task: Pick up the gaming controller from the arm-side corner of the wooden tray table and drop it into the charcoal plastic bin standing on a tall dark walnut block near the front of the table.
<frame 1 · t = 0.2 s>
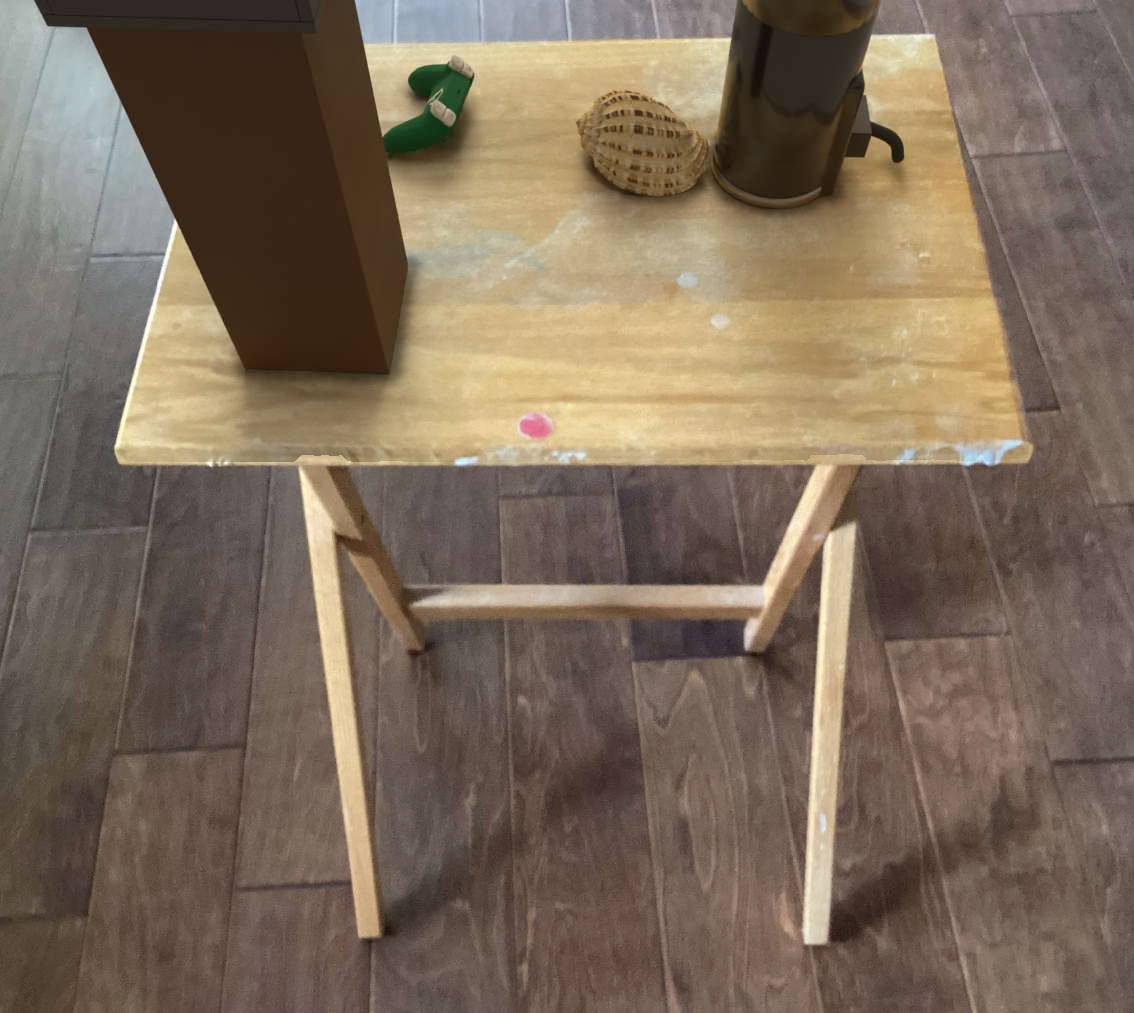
gaming controller: (433, 126, 79), on the table
seashell: (642, 165, 77), on the table
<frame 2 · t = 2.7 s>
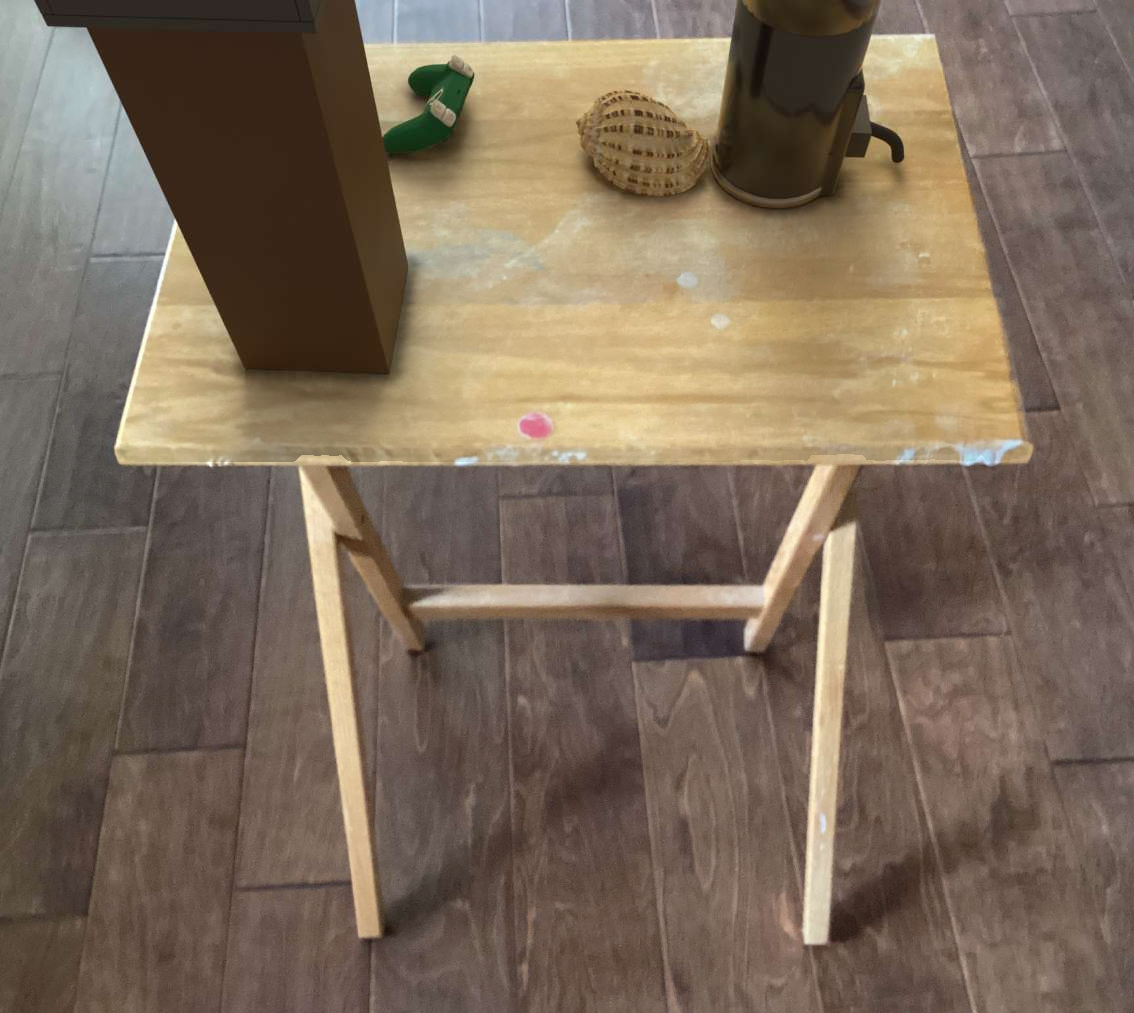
nothing on the table moved.
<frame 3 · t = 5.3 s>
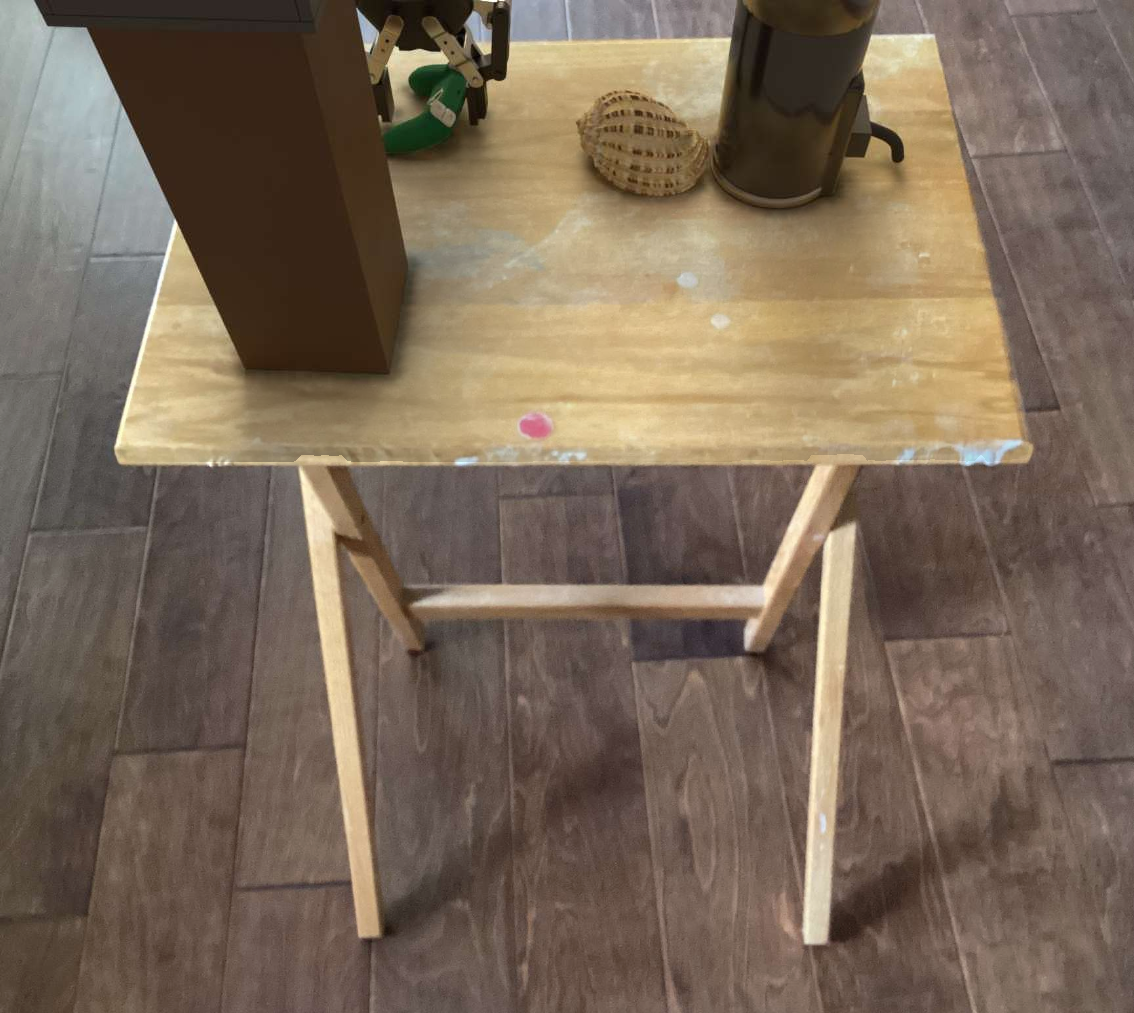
hand: (432, 117, 79), 1 cm above the table, tool pointing down, fingers closed on gaming controller, 6 cm apart
gaming controller: (433, 126, 79), on the table, touching gripper
everything else where it was.
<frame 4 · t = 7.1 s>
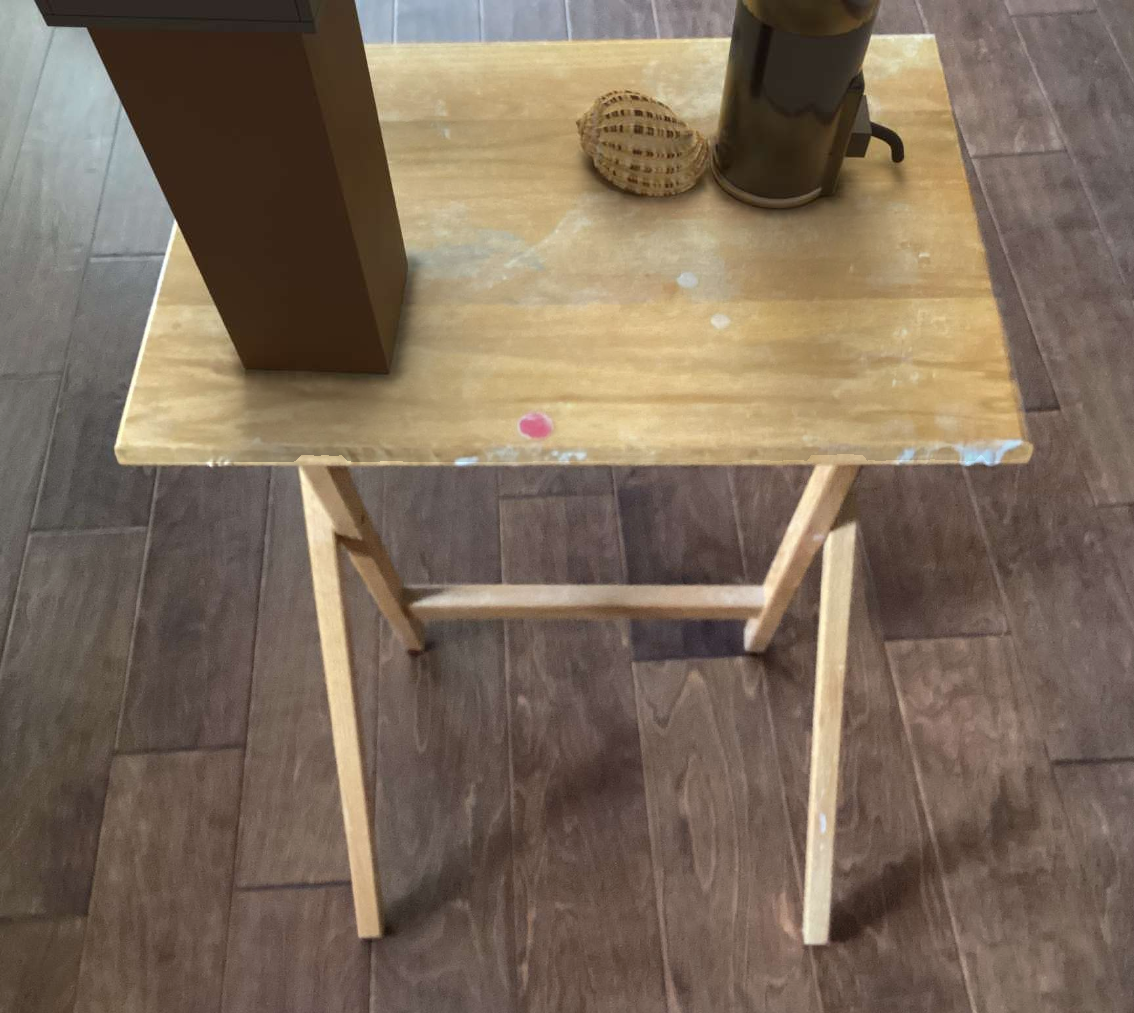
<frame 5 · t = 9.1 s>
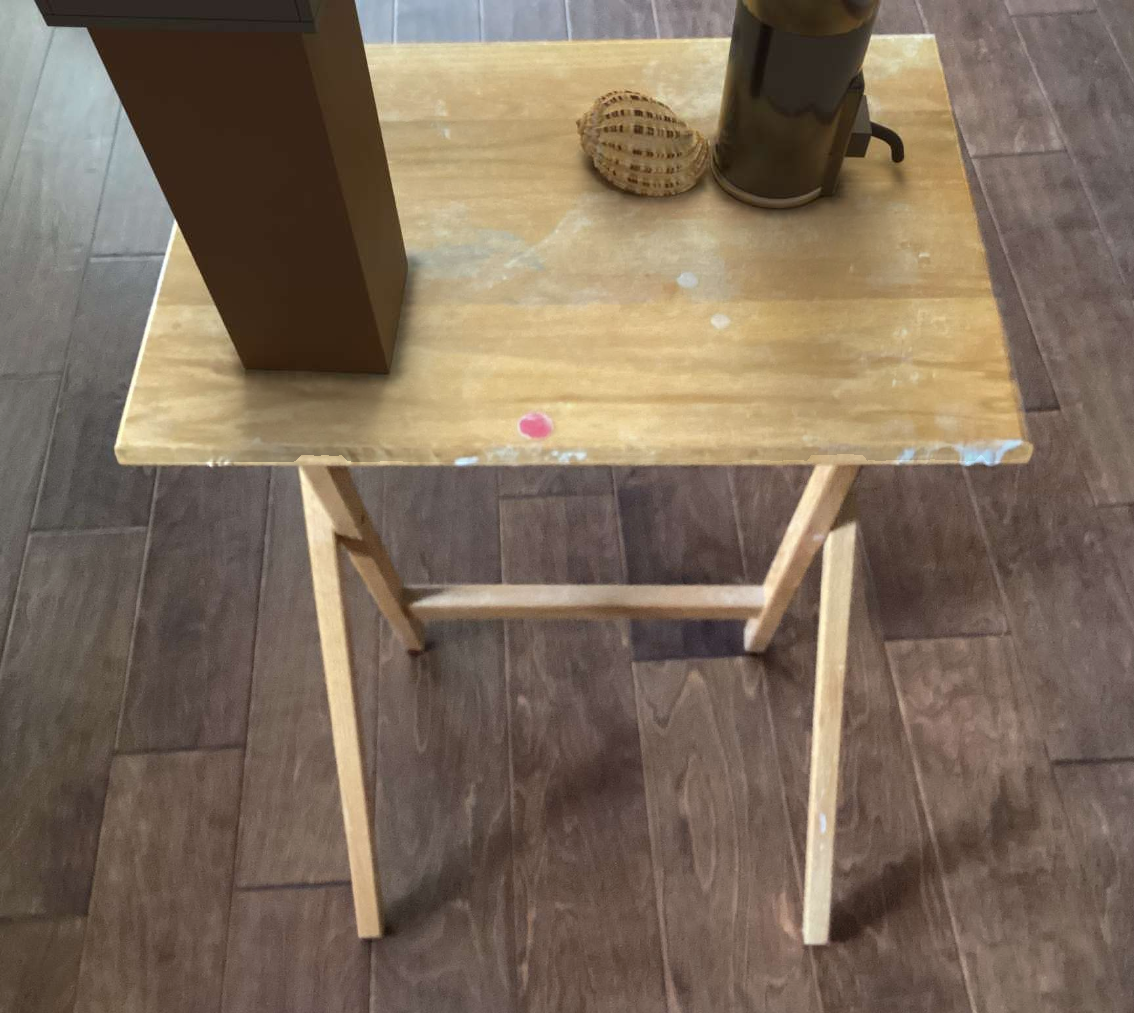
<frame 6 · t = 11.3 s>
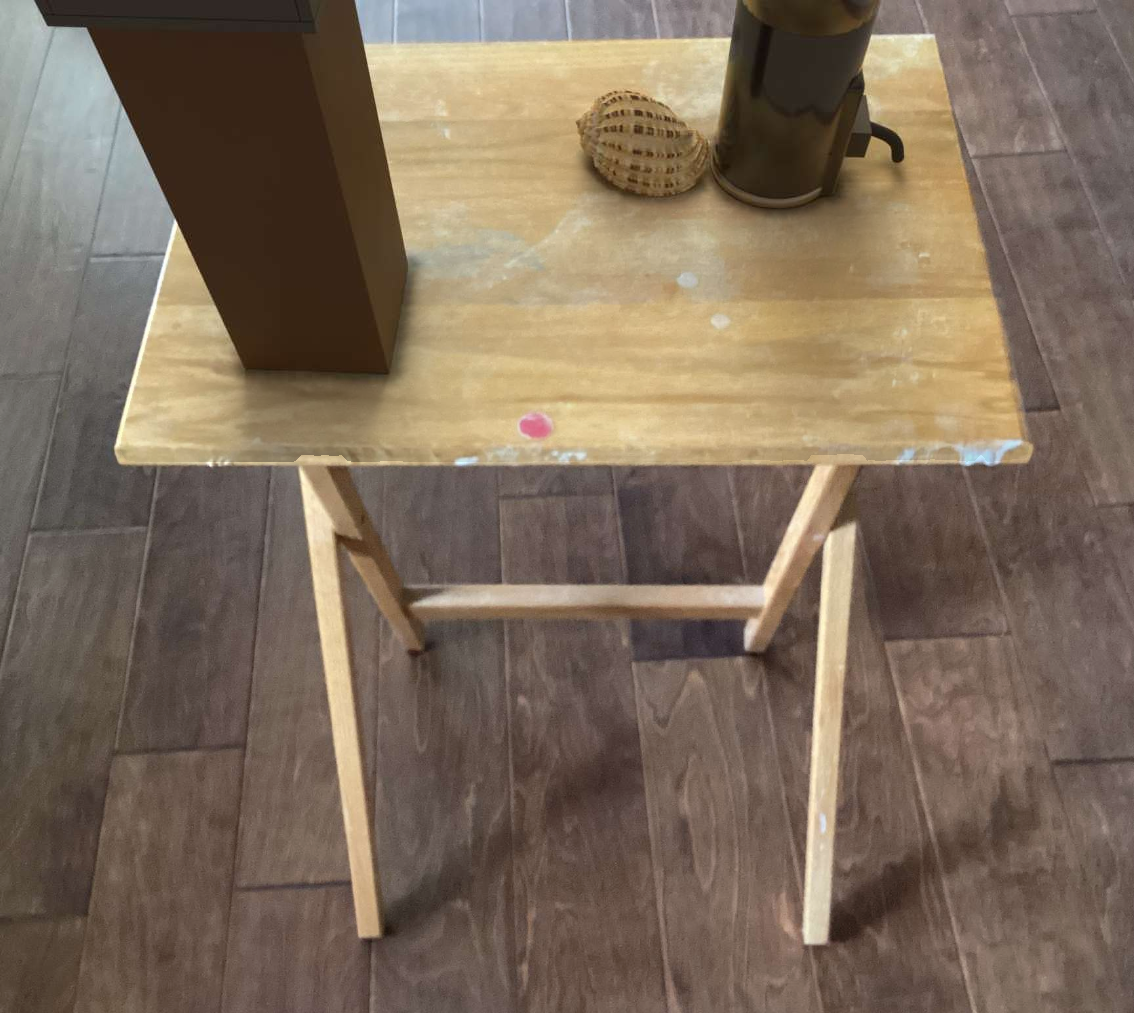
when the fingers open (31 cm above the table, at t = 13.2 s): gaming controller drops 3 cm, resting on bin.
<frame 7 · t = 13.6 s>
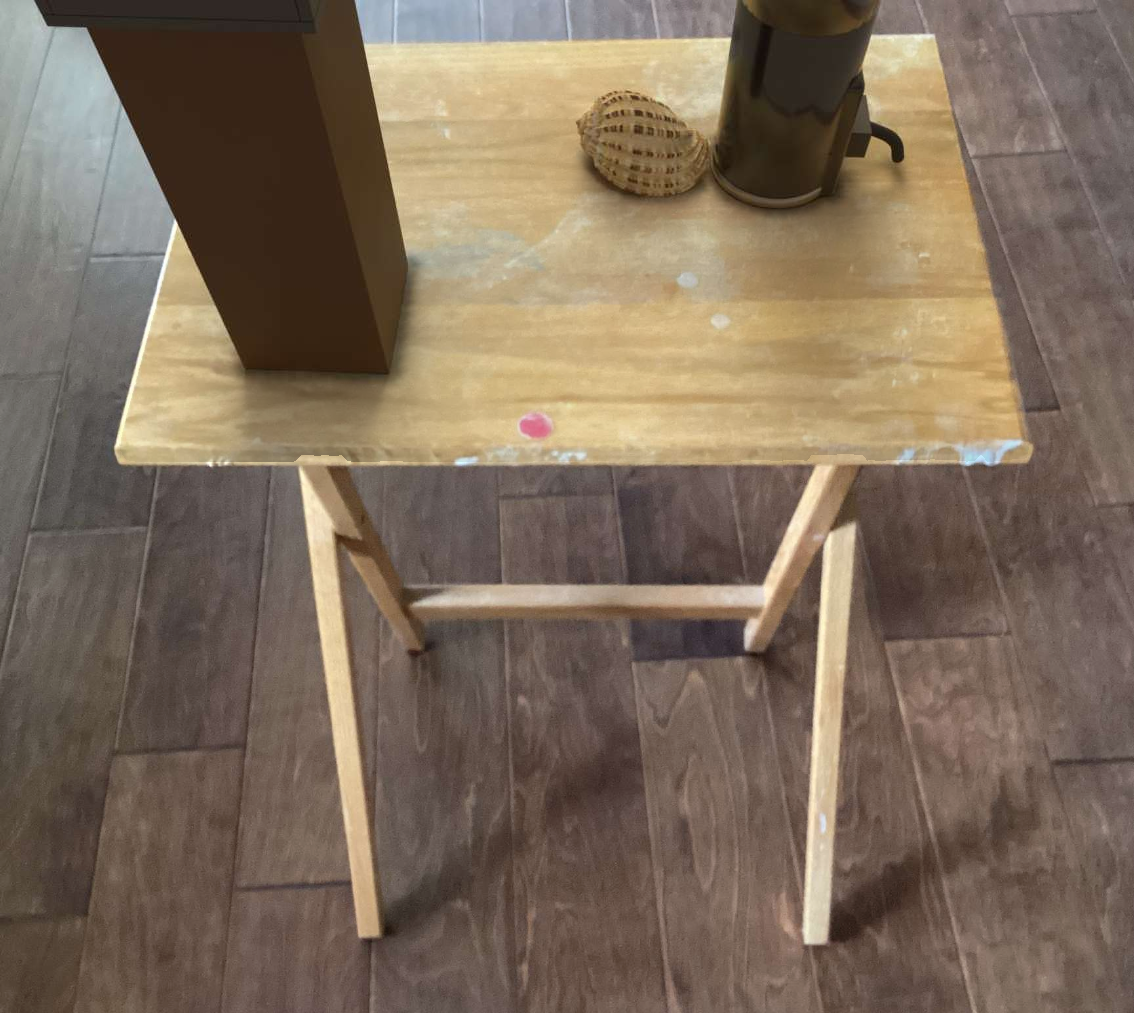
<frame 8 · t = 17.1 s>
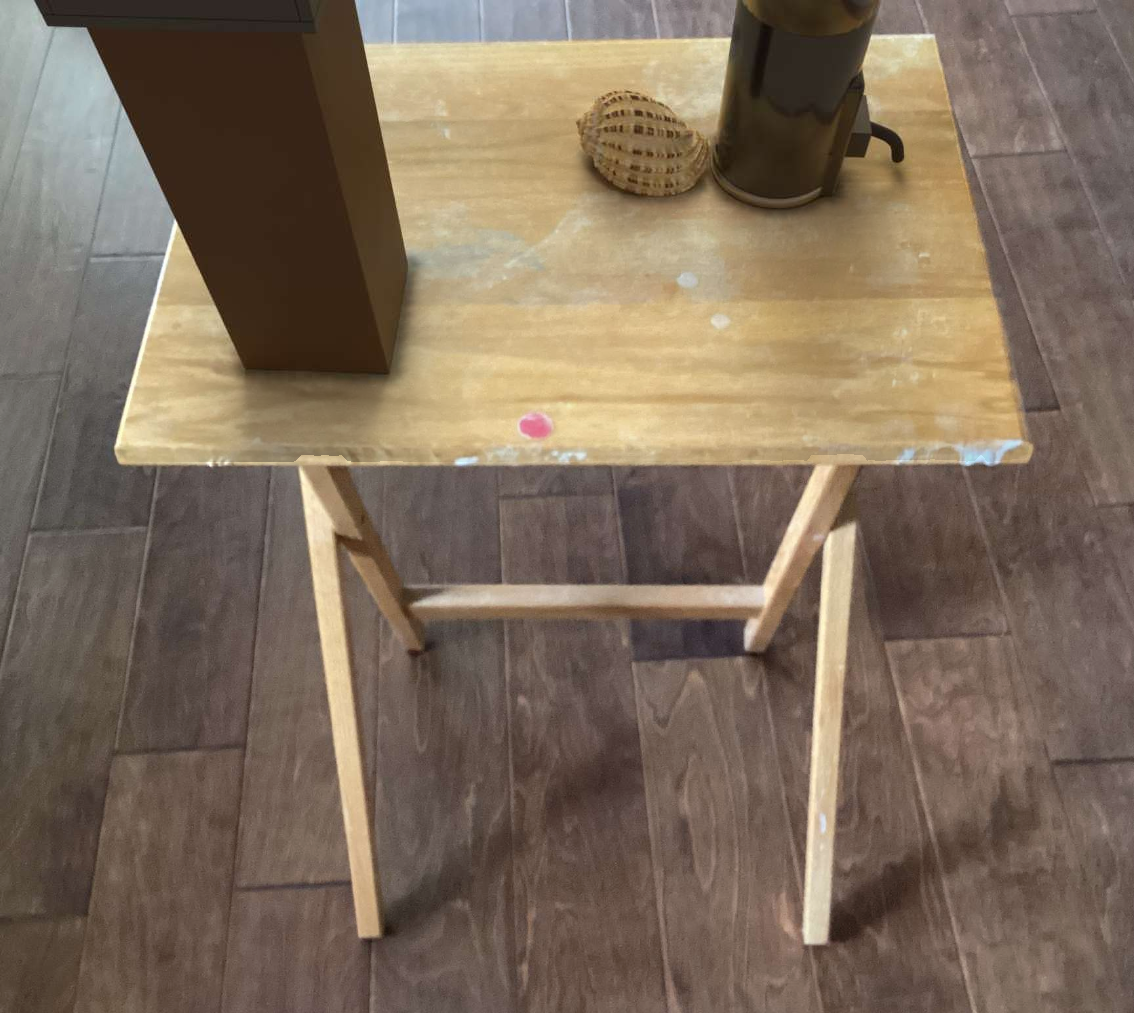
at the end: gaming controller inside the target area on the bin (0.1 cm from its centre), point 0.4 cm above the bin's base; the gripper is holding nothing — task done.
